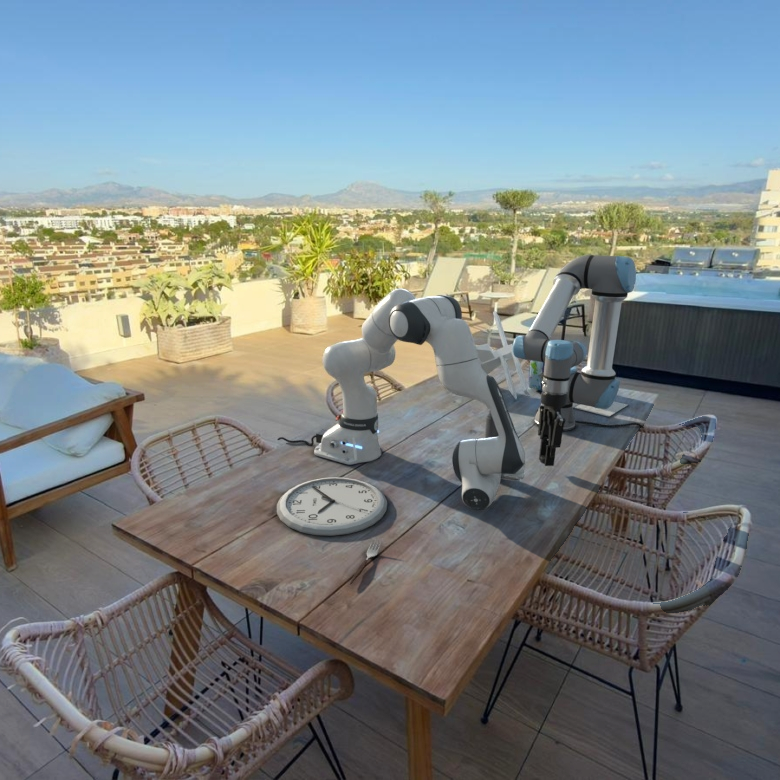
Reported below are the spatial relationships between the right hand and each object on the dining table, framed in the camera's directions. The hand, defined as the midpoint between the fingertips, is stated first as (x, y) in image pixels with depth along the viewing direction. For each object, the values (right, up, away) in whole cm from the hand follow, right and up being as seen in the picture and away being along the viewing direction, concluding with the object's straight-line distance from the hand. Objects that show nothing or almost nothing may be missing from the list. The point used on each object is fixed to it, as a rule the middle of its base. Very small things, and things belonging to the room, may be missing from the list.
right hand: (546, 462), depth 165 cm
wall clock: (-65, -9, -22) cm, 69 cm away
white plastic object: (-8, +22, +78) cm, 81 cm away
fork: (-55, -17, -47) cm, 75 cm away
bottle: (-18, -4, -3) cm, 19 cm away
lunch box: (+27, +24, +87) cm, 94 cm away
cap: (0, +1, 0) cm, 1 cm away
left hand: (-18, +3, -4) cm, 18 cm away
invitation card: (+42, +15, +61) cm, 76 cm away
